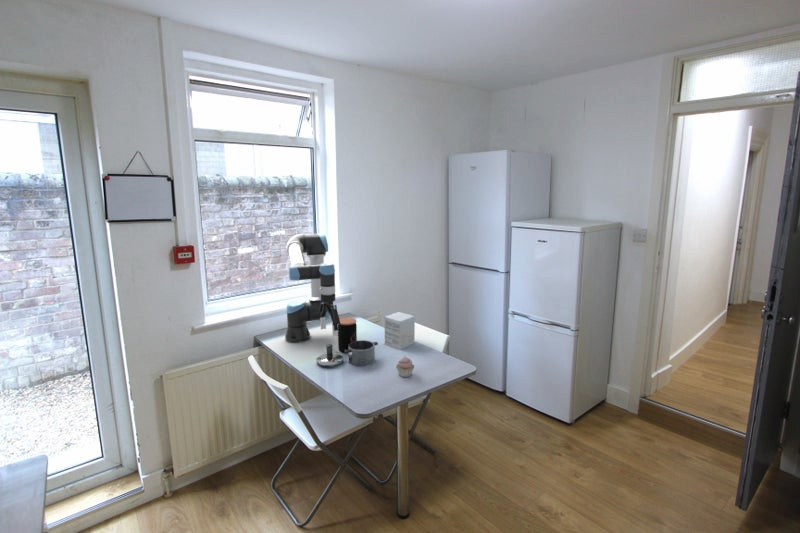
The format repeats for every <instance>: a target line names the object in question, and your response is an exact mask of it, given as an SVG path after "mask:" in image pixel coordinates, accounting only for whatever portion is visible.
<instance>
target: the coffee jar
mask: <svg viewBox="0 0 800 533" xmlns="http://www.w3.org/2000/svg"><path fill="white" fill-rule="evenodd" d="M339 320H340V324H338V336H337V348H338V351H339V352H340V353H342V354H345V353H344V350H346V349H348V344H350V343H351V342H354V341H358V336H357V335H358V334H357V333H358V332H357V330H358V329H357V328H358V327H357V319H356V318H353V317H342V318H339Z"/></svg>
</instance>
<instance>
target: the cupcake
mask: <svg viewBox="0 0 800 533" xmlns="http://www.w3.org/2000/svg"><path fill="white" fill-rule="evenodd" d="M395 368H396V370H397V372H398V373H397V374H398V376H399V377H400V378H403V379H405V378H407V379H408V378H409V377H411V376H412V374H413V371H414V369H415V364H413V361H412V360H411V359H410V358H409V357H407V356H404V357H403V358H401V359H399V361H397V364H396V366H395Z"/></svg>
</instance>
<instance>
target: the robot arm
mask: <svg viewBox="0 0 800 533" xmlns="http://www.w3.org/2000/svg"><path fill="white" fill-rule="evenodd" d="M328 243H329V242H328V240H327V237H326V234H324V233H319V232H317V233H299V234H298V233H297V234H296V235H294V236H292V237H290V239H289V240H288V242H287V244H286V252H287V254H288V255H289V259H290V264H291V266H289V267H288V277H289V280H291V281H305V280H306V281H307V280H310V288H311V291H310V292H311V297H310V298H309V299H308V300H309V302H307V301H306V300H303V299H299V300H294V301H291V302H289V303H288V304H287V306H286V318H287V319H286V323H287V328H286V332H285V334H284V340H285V342H288V343H295V344H297V343H304V342H306V341H308V340H310V339H311V332H310V330H309V328H308V327H309V326H308V322H315V321H320V330H325V329H327V323H326V321H327V320H329V319H331V322H332V324H331V326H332V327H331V330H332V331H331V332H332V337H334V338H335V337H338V324H340V320H339V319H340V317H339V312H338V307H337V306H338V305H337V304H334V302H335V301H336V283H335V282H336V279H335V278H336V276H335V275H336V269H335V264H333V263H330V262H329V263H328V262H326V263H324V262H325V261H324V258H325V257H326V255H327V252H329V244H328ZM304 254H306V257H307V258H308V259H309V265H307V264H306V261H305V256H304Z"/></svg>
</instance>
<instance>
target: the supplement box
mask: <svg viewBox="0 0 800 533" xmlns="http://www.w3.org/2000/svg"><path fill="white" fill-rule="evenodd" d="M415 320H416V318H415V316H414V315H412V314H409V313H406V312H405V313H404V312H400V311H397V312H395V313H394V312H393V313H390V314H388V315H385V316H384V345H385V346H386V345H387V346H389V347H391V348H395V349H397V350H403V349H405V348H407V347H410V346H411V345H414V344H415V332H416V331H415V326H416V325H415V322H416V321H415Z"/></svg>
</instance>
